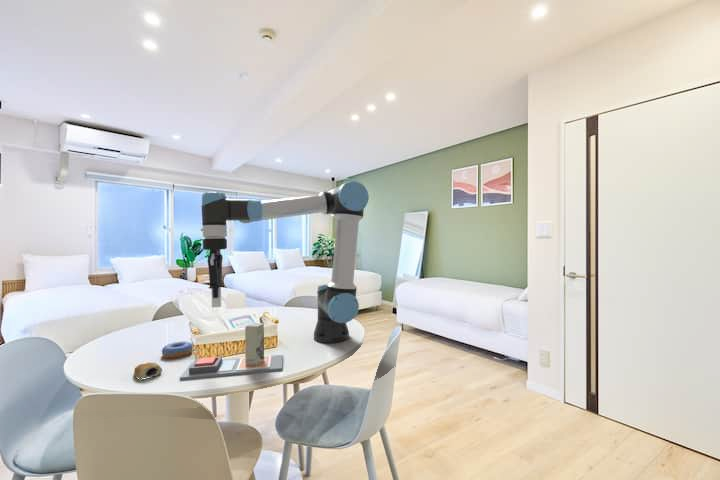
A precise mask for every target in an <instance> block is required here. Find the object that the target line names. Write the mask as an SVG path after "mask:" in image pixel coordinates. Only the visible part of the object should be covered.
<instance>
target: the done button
mask: <svg viewBox="0 0 720 480" xmlns="http://www.w3.org/2000/svg"><path fill="white" fill-rule="evenodd" d="M216 357H217V356H211V357H199V358H198V359H199V360H198V361H197V363H196V366H208V365H214V364H215V363H216Z"/></svg>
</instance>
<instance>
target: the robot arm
mask: <svg viewBox="0 0 720 480" xmlns="http://www.w3.org/2000/svg"><path fill="white" fill-rule="evenodd" d="M369 199H370V197H369V191H368V190H367V188H366V187H365V186H364V184H363V183H361V182H359V181H356V180H350V181H346V182H343V183H342V184H340V185H339V186H337V187H335V188H333V189H331V190H326V191H320V193H318V194H315V195H305V196H304V195H303V196H297V197H287V198H280V199H269V200H261V199H253V198H250V199H249V198H241V199H240V198H227V196H226V193H225V192H218V191H207V192H204V193H203V194H202V195H201V220H202V228H200V231H201V232H202V237H203V239H202V249H203V250H204V251H209V254H208V256H207V265H208V278H209V286H208V289H210V290H211V308H221V307H222V288H223V287H224V284H223V281H222V280H223V279H222V278H223V254H222V253H221V250H227V248H228V240H227V238H226V237H227V236H228V233H227V228H228V227H227V226H228V225H227V221H235V222H236V221H238V222H240V223H243V224H249V223H253V222H254V223H255V222H260V221H266V220H267V221H268V220H274V219H282V218H289V217H299V216H304V215H311V214H312V215H313V214H319V213H320V214H323V215H333V217H334V218H335V219H336V228H335V236H334V237H335V238H334V250H333V259H332V261H333V262H332V270H331V271H332V272H331V280H330V281H329V282H328V283H325V284H320V285H318V287H317V292H316V293H317V321H316V325H315V328H314V331H313V340H314V341H316V342H318V343H325V344H335V342H337V343H342V342H345V341H347V340H349V339H350V331H349V328H348V326H347V323H348V322H349V323H350V322H351V321H353V319H354V318H356V316H357V315H358V313H359V309H360V305H359V299H357V286H356V285H355V283H354V279H355V268H356V266H355V265H356V257H357V247H358V245H357V244H358V235H359V234H358V233H359V223H360V221H362V219H363V218H364V210H365V208H366V206H367V205H368V203H369ZM346 339H347V340H346ZM344 340H345V341H344ZM341 341H342V342H341Z"/></svg>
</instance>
